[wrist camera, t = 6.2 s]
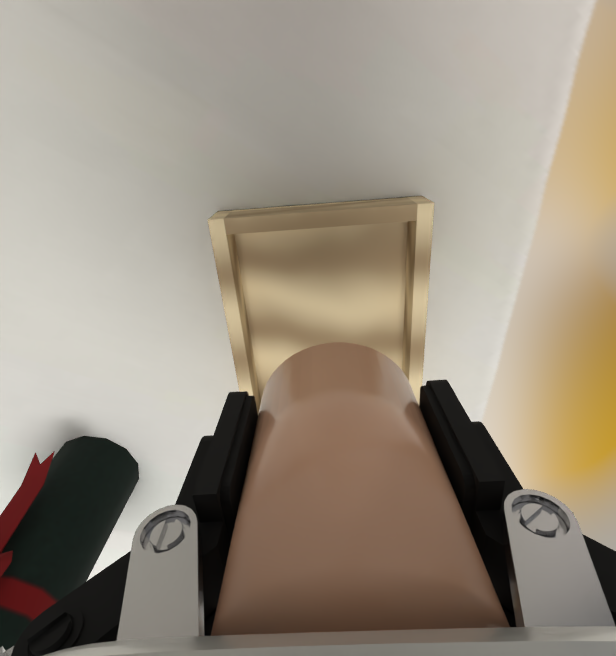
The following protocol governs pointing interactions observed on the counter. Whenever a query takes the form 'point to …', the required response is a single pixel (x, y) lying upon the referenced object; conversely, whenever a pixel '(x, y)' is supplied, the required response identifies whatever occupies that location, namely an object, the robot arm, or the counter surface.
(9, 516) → the wine bottle
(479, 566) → the terracotta cylinder
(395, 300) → the tray
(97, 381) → the counter surface
